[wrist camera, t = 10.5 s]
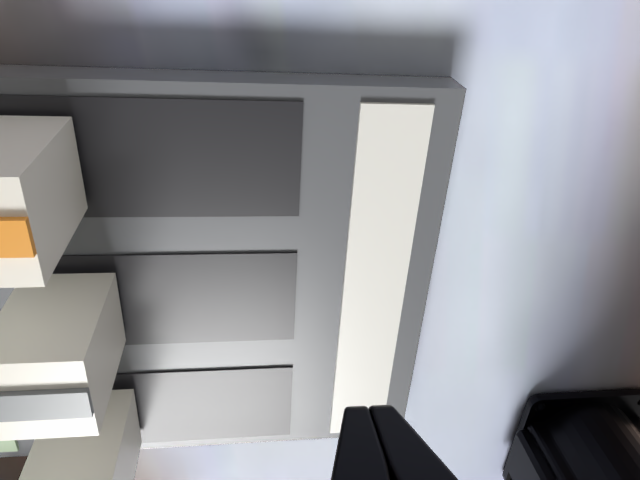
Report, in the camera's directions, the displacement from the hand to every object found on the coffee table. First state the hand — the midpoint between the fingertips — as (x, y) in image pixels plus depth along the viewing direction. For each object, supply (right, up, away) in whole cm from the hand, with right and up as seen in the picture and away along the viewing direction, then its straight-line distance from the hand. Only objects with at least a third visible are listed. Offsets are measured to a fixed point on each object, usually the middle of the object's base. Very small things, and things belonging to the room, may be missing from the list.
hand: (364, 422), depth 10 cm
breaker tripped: (-10, +5, +7) cm, 13 cm away
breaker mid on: (-9, +1, +10) cm, 14 cm away
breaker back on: (-10, -4, +13) cm, 16 cm away
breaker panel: (-7, +2, +12) cm, 14 cm away
